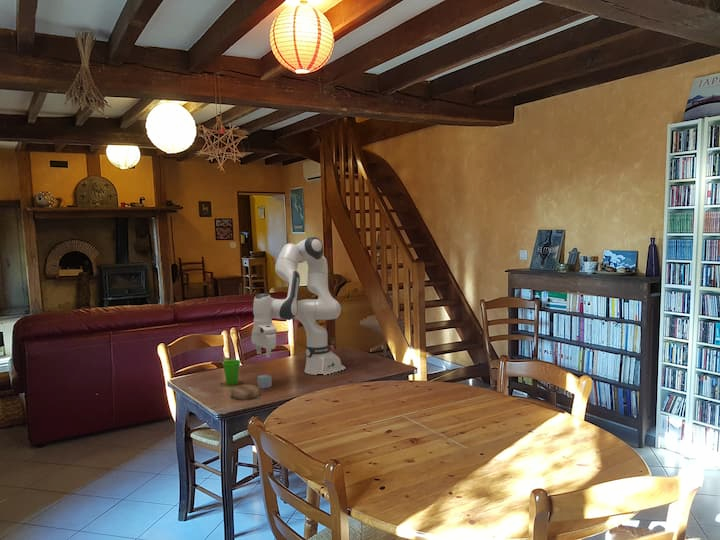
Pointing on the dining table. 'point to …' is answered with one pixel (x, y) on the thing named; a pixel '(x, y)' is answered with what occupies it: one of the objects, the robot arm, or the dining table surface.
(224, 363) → the cup
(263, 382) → the cube
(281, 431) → the dining table surface
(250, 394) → the trivet
